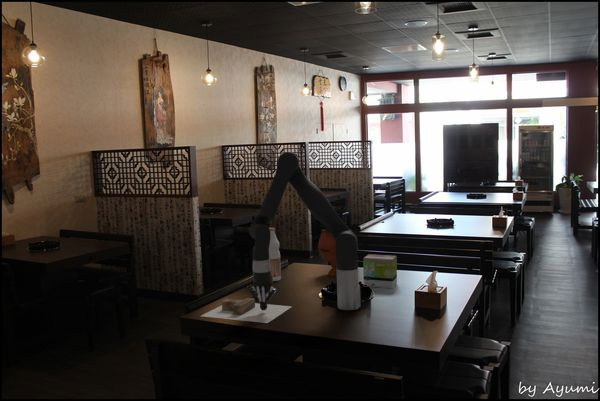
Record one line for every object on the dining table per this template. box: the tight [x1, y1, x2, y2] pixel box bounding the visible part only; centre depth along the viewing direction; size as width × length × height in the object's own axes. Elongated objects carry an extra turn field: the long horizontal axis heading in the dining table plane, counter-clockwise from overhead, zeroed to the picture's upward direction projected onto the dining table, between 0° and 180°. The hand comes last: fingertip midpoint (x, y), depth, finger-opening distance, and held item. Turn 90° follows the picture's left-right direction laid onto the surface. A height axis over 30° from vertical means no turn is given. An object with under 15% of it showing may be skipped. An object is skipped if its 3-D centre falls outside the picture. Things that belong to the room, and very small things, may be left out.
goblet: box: [317, 228, 337, 277], centre depth 297 cm, size 19×19×25 cm
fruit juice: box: [269, 227, 282, 282], centre depth 289 cm, size 9×9×28 cm
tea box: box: [362, 254, 398, 289], centre depth 269 cm, size 15×10×15 cm
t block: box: [221, 297, 256, 315], centre depth 236 cm, size 12×12×4 cm
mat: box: [200, 302, 293, 324], centre depth 233 cm, size 32×24×1 cm
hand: (263, 309), depth 230 cm, fingers closed
